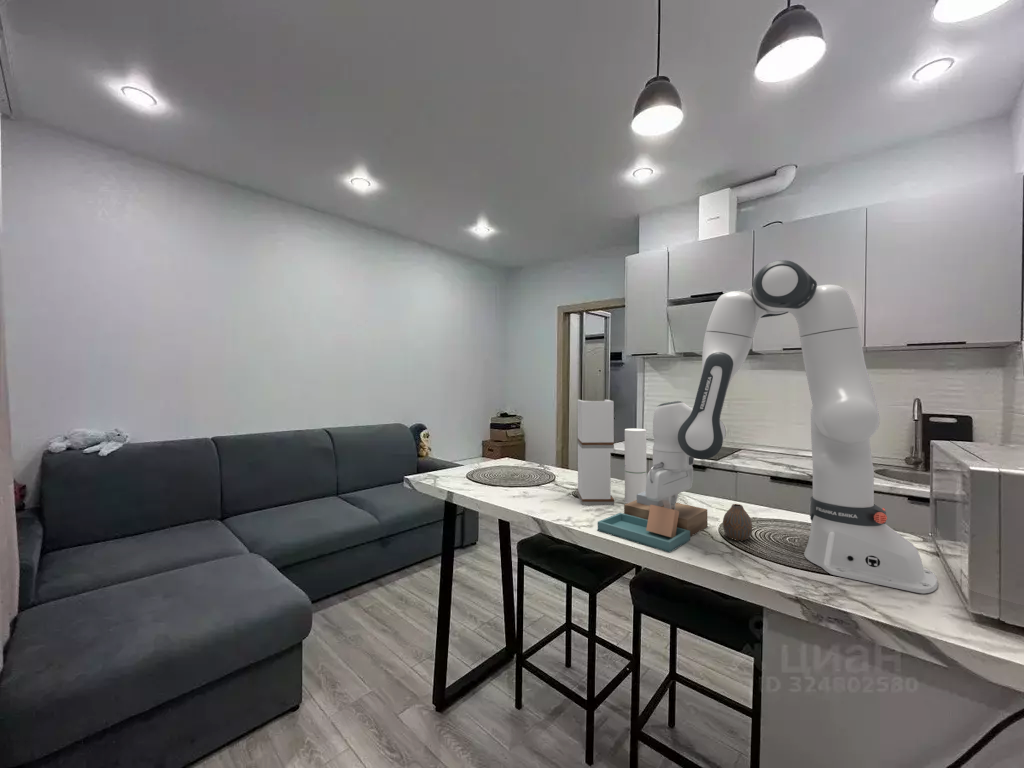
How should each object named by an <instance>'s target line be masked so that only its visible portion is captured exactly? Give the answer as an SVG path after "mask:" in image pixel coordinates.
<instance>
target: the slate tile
mask: <svg viewBox="0 0 1024 768" xmlns="http://www.w3.org/2000/svg"><path fill="white" fill-rule="evenodd" d="M645 493H646V491H645V492H642V493H639V494H637V503H640V504H645V505H649V506H650V505H655V506H660V507H661V506H663V505H664V504H663V501H662V500H661V501H652V500H649V499H647V497H646V494H645Z"/></svg>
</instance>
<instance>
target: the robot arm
mask: <svg viewBox="0 0 1024 768" xmlns="http://www.w3.org/2000/svg"><path fill="white" fill-rule="evenodd" d="M788 313H790V314H791V315H792V316H793V317H794V318H795V320H796V323H797V326H798V332H799V339H800V340H799V341H800V345H801V347H800V348H801V352H802V359H803V366H804V370H805V375H806V379H807V380H806V381H807V384H808V389H809V393H810V399H811V405H812V406H811V408H810V438H811V439H810V440H811V441H810V442H811V457H812V458H811V460H812V496H811V497H810V500H809V518H810V521H811V524H810V529H809V530H810V531H809V536H808V537H809V538H808V541H807V545H806V547H805V550H804V552H803V555H804V557H805V558H806V560H808V561H809V562H811V563H813V564H815V565H817V566H818V567H820V568H822V569H823V570H824V571H825V572H826V573H829V574H830V575H831V576H832V575H833V576H837V577H841V578H846V579H850V580H856V581H860V582H865V583H870V584H874V585H879V586H883V587H889V588H894V589H899V590H903V591H907V592H912V593H917V594H930V593H932V592H934V591H936V590H937V588H938V586H939V585H938V578H937V575H936V574H935V573H934V572H933V571H932V570H930V569H928V568H927V567H924V566H923V561H922V558H921V555H920V553H919V551H918V549H917V547H916V546H915V545H914V544H913V543H912V542H911V541H910V540H908V539H906V537H904V536H902V535H901V534H899V532H897V531H896V530H894V529H893V528H891V527H890V526H889V525H888V524H887V520H888V517H887V511H886V509H885V508H884V507H882V508H881V507H880V506H878V505H876V504H875V501H874V499H875V493H874V492H875V491H874V490H875V483H874V481H875V476H874V475H875V474H874V473H875V470H874V469H875V467H874V464H873V457H872V449H871V440H870V438H871V437H873V435H875V434H876V432H877V430H878V429H879V426H880V420H881V418H880V413H879V409H878V405H877V401H876V397H875V393H874V388H873V385H872V381H871V378H870V375H869V372H868V368H867V366H866V360H865V355H864V349H863V343H862V337H861V331H860V326H859V321H858V316H857V313H856V310H855V307H854V304H853V301H852V299H851V297H850V294H849V292H848V291H847V289H846V288H844V287H842V285H841V286H840V285H837V284H822V285H818V282H817V281H816V280H815V279H814V278H813V277H812V276H811V275H810V274H809V273H808V272H807V271H806V269H804V268H803V267H802V266H801V265H799V264H798V263H796V262H794V261H791V260H787V259H785V260H784V259H780V260H776V261H772V262H769V263H767V264H766V265H764V266H763V267H761V269H759V271H757V273H756V275H755V276H754V278H753V282H752V287H750V288H749V289H746V290H743V291H739V290H733V291H732V290H731V291H728V292H725V293H723V294H721V295H720V296H719V297H718V298H717V300H716V301H715V304H714V306H713V308H712V311H711V313H710V316H709V319H708V322H707V326H706V328H705V333H704V337H703V344H702V355H701V356H702V357H701V376H700V379H699V380H700V381H699V385H698V389H697V393H696V395H695V399H694V400H695V401H694V403H693V407H691V406H689V405H688V404H686V403H685V402H684V401H682V400H681V401H679V400H677V401H676V400H675V401H670V402H663V403H661V404H658V405H657V406H656V407H655V409H654V412H653V419H652V436H653V441H654V442H653V445H652V465H651V467H650V470H649V471H648V473H646V493H645V494H646V497H647V499H649V500H652V501H661V500H662V501H663V504H664V508H668V509H673V510H675V504H676V503H677V501H678V498H679V496H678V495H679V494H681V493H684V492H685V491H688V490H690V489H691V488H692V486H693V480H694V467H693V465H694V464H695V459H696V460H697V459H698V460H708V459H711V458H713V457H715V456H716V455H717V454H718V453H719V452H720V451H721V449H722V447H723V443H724V441H725V439H726V436H727V431H726V427H725V424H724V423H723V421H722V420H721V415H722V412H723V411H722V410H723V408H724V403H725V399H726V395H727V392H728V389H729V386H730V383H731V382H732V379H733V378H734V376H735V375H736V374H737V373H738V371H739V370H740V369H741V367H743V364H744V363H745V362H746V360H747V357H748V355H749V353H750V350H751V347H752V343H753V340H754V335H755V332H756V328H757V324H758V322H759V320H760V319H763V318H770V317H779V316H782V315H786V314H788Z"/></svg>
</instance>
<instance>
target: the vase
mask: <svg viewBox="0 0 1024 768" xmlns="http://www.w3.org/2000/svg"><path fill="white" fill-rule="evenodd" d="M722 528H723V531H724V533H725V534H726V536H727V537H728V538H729V537H730V538H729V539H731V538H733V539H736V540H735V541H738V540H744V541H746V540H747V539H749V538H750V537H751V535H752V533H753V522H752V519H751V517H750V515H749V514H748V512H747V511H746V510H745V508H744V506H743V505H742V504H739V503H733V504H732V505H731V507H730V508H729V509H728V510H727V511H726V512H725V514H724V516H723V519H722ZM733 539H732V540H733Z"/></svg>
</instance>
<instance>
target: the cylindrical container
mask: <svg viewBox="0 0 1024 768" xmlns="http://www.w3.org/2000/svg"><path fill="white" fill-rule="evenodd" d="M646 479H647V429H645V428H635V427H634V428H631V427H630V428H625V429H624V503H625V504H627V503H630V502H633V501H635V500H637V494H639V493H642V492H645V491H646Z"/></svg>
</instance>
